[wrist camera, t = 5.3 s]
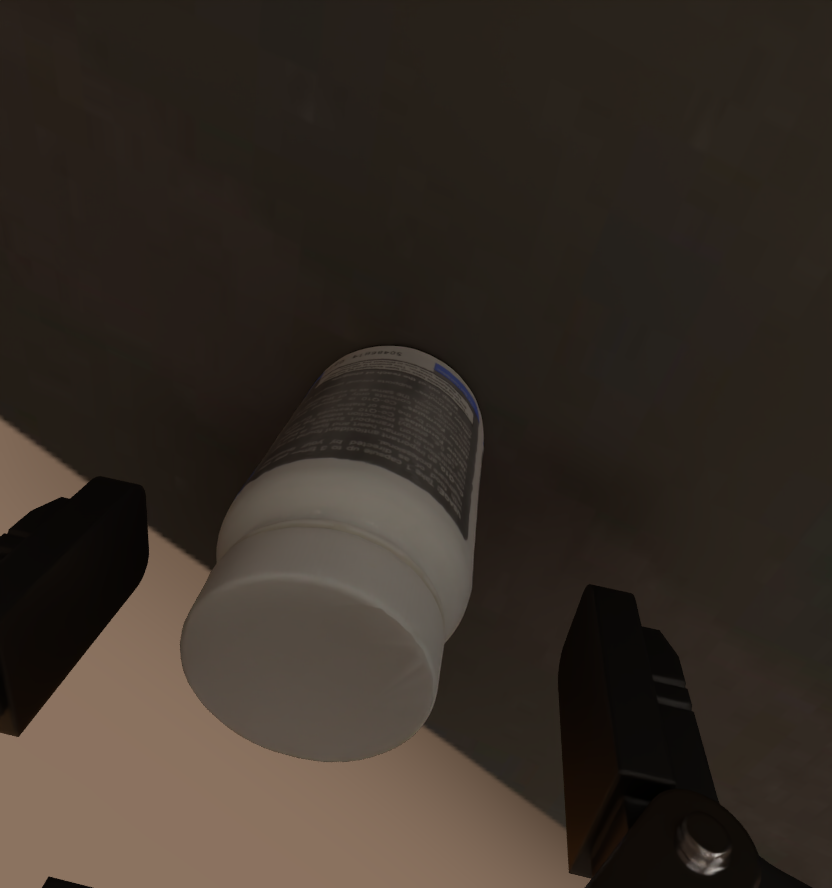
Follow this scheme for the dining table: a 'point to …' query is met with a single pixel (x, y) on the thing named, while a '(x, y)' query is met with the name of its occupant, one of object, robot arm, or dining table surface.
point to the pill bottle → (344, 563)
